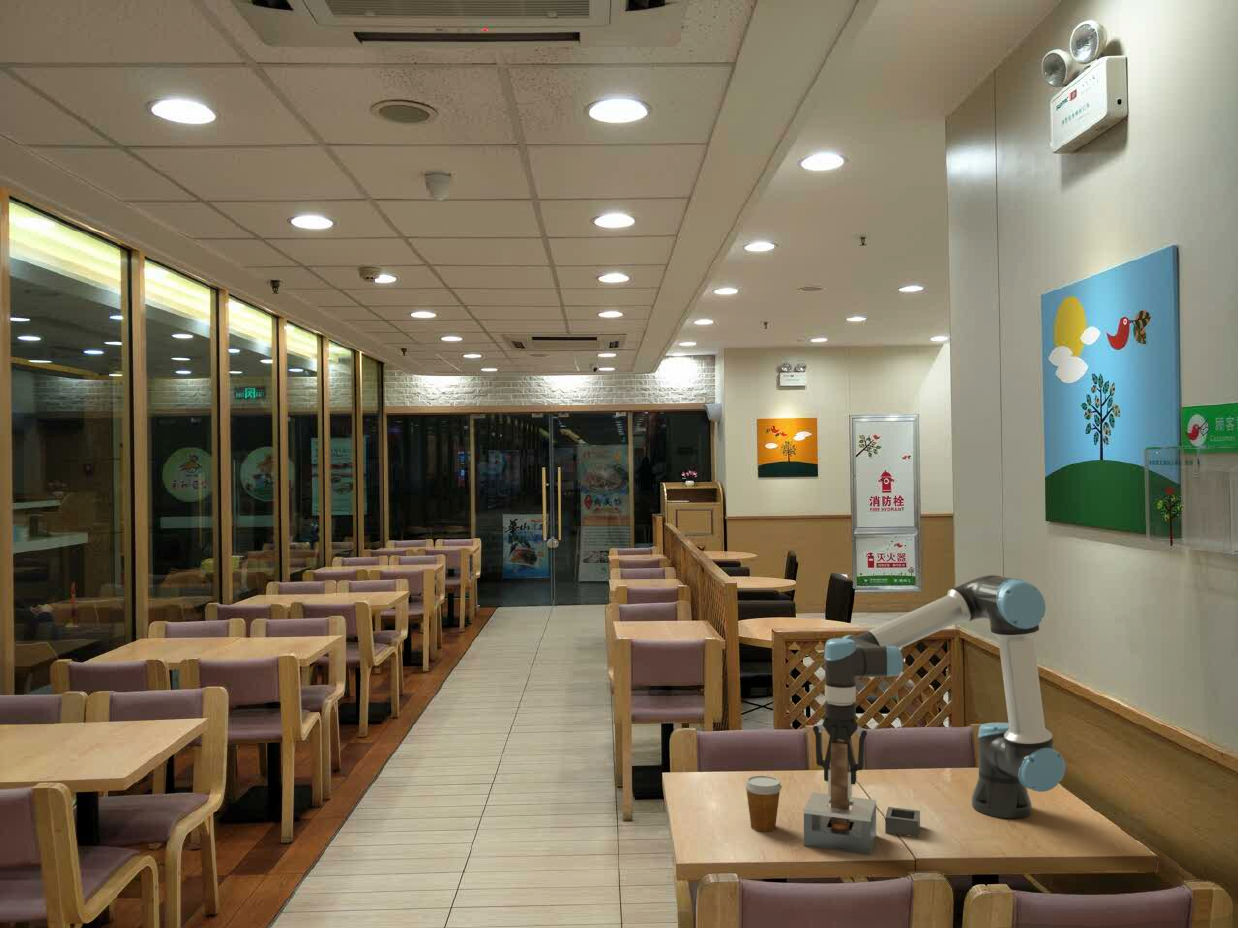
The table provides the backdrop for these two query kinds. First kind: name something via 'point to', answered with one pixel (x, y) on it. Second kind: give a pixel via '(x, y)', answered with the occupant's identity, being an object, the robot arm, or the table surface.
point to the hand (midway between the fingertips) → (840, 795)
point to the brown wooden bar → (839, 779)
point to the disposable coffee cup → (763, 801)
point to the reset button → (841, 826)
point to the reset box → (840, 839)
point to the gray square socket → (902, 821)
